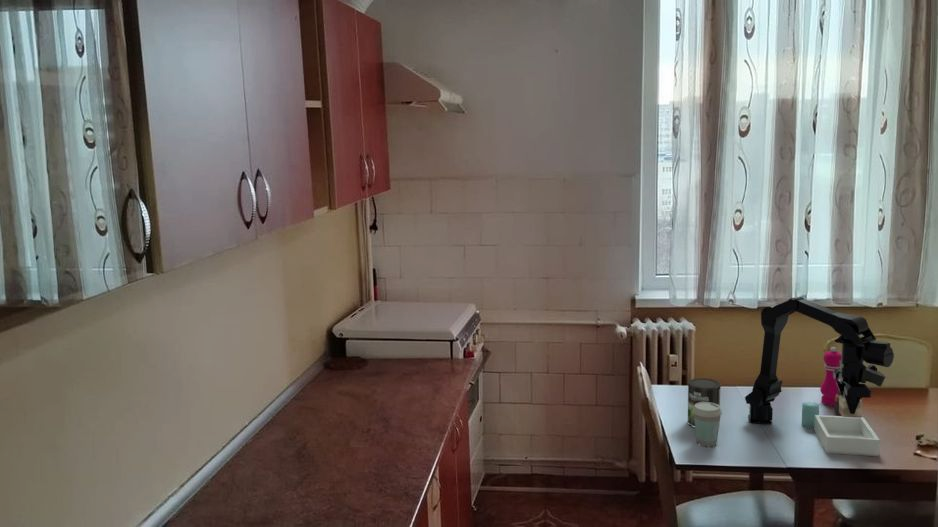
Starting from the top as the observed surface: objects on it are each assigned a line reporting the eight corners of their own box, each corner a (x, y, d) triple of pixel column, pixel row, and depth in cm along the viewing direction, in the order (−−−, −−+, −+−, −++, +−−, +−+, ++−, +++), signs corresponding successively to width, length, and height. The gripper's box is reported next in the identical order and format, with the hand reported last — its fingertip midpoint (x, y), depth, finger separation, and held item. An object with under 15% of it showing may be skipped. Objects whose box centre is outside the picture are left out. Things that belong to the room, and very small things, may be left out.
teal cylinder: (803, 427, 236) (803, 406, 235) (800, 422, 241) (800, 401, 240) (820, 428, 235) (820, 407, 234) (816, 422, 240) (817, 402, 238)
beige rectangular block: (842, 416, 216) (843, 400, 215) (838, 410, 221) (839, 394, 220) (861, 417, 215) (862, 401, 214) (857, 411, 219) (857, 395, 219)
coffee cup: (717, 451, 221) (718, 412, 219) (688, 445, 226) (689, 408, 224) (724, 440, 228) (724, 403, 226) (696, 436, 233) (696, 399, 231)
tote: (826, 453, 217) (827, 437, 216) (814, 429, 234) (814, 414, 233) (879, 456, 213) (879, 440, 212) (862, 432, 230) (863, 417, 230)
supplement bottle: (857, 426, 235) (858, 392, 234) (837, 425, 237) (838, 392, 235) (851, 419, 241) (853, 386, 239) (831, 418, 242) (833, 385, 241)
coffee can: (711, 432, 235) (712, 390, 233) (681, 425, 242) (682, 384, 240) (725, 422, 243) (726, 381, 240) (696, 416, 250) (696, 376, 247)
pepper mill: (843, 400, 258) (846, 345, 255) (841, 407, 252) (844, 350, 249) (821, 397, 262) (823, 343, 259) (818, 404, 256) (820, 348, 253)
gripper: (892, 370, 204) (889, 423, 206) (874, 351, 222) (871, 401, 224) (848, 368, 207) (846, 421, 209) (833, 350, 225) (831, 399, 227)
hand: (850, 410), depth 217 cm, fingers closed on beige rectangular block, 5 cm apart
